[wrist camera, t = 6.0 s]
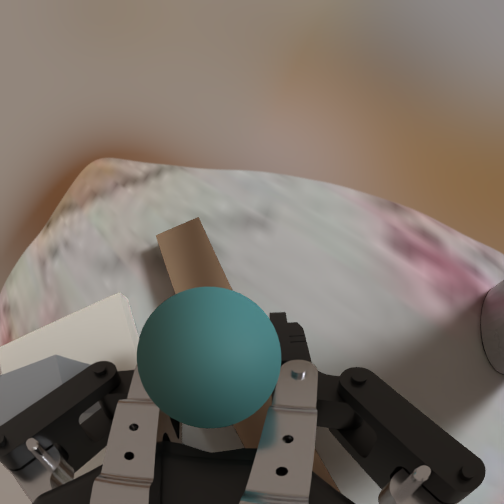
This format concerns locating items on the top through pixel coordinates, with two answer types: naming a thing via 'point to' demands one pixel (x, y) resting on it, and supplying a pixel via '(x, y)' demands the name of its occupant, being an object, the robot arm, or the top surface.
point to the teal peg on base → (209, 346)
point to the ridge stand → (67, 357)
